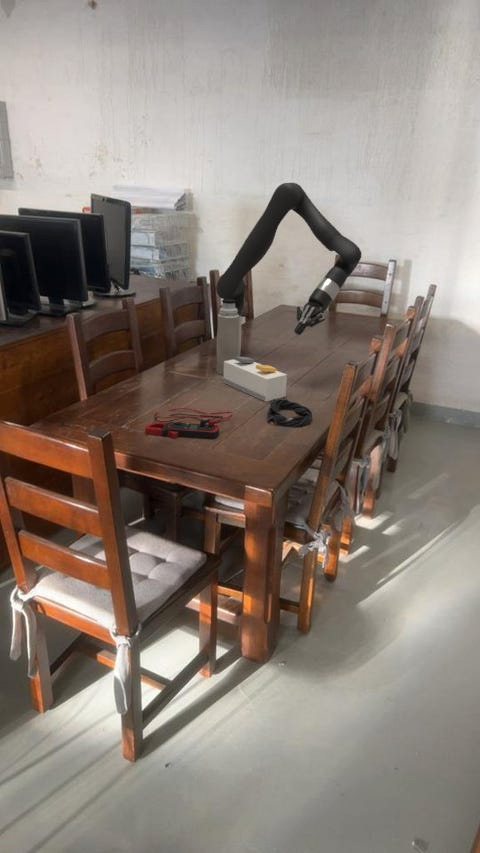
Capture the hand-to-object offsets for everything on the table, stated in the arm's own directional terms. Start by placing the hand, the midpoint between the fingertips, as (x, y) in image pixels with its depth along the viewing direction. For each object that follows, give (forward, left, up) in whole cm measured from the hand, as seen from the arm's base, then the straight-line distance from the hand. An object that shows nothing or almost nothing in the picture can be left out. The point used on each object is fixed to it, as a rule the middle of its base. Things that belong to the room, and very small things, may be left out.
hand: (296, 333), depth 209 cm
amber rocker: (-5, -14, -10) cm, 19 cm away
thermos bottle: (-27, 0, -19) cm, 34 cm away
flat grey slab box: (-16, -9, -10) cm, 21 cm away
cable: (+11, -29, -20) cm, 37 cm away
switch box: (-10, -12, -19) cm, 25 cm away
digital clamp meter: (-13, -50, -20) cm, 56 cm away
